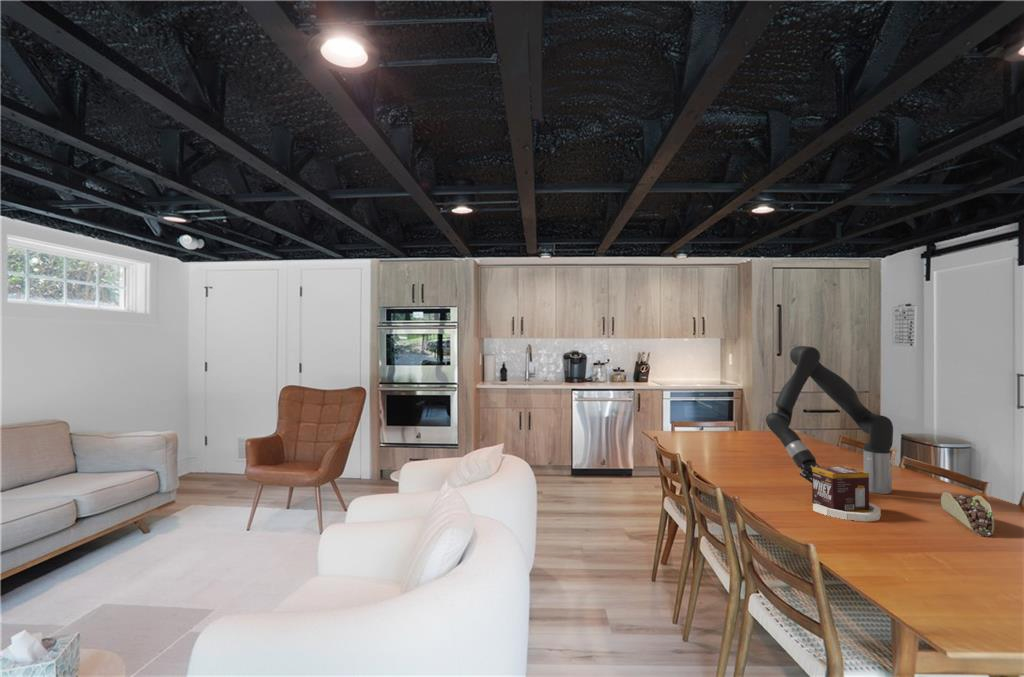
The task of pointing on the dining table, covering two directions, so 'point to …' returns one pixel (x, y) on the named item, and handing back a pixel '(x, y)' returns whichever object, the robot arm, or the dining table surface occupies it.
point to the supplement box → (841, 488)
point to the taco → (970, 512)
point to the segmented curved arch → (850, 513)
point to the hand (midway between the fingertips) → (827, 491)
